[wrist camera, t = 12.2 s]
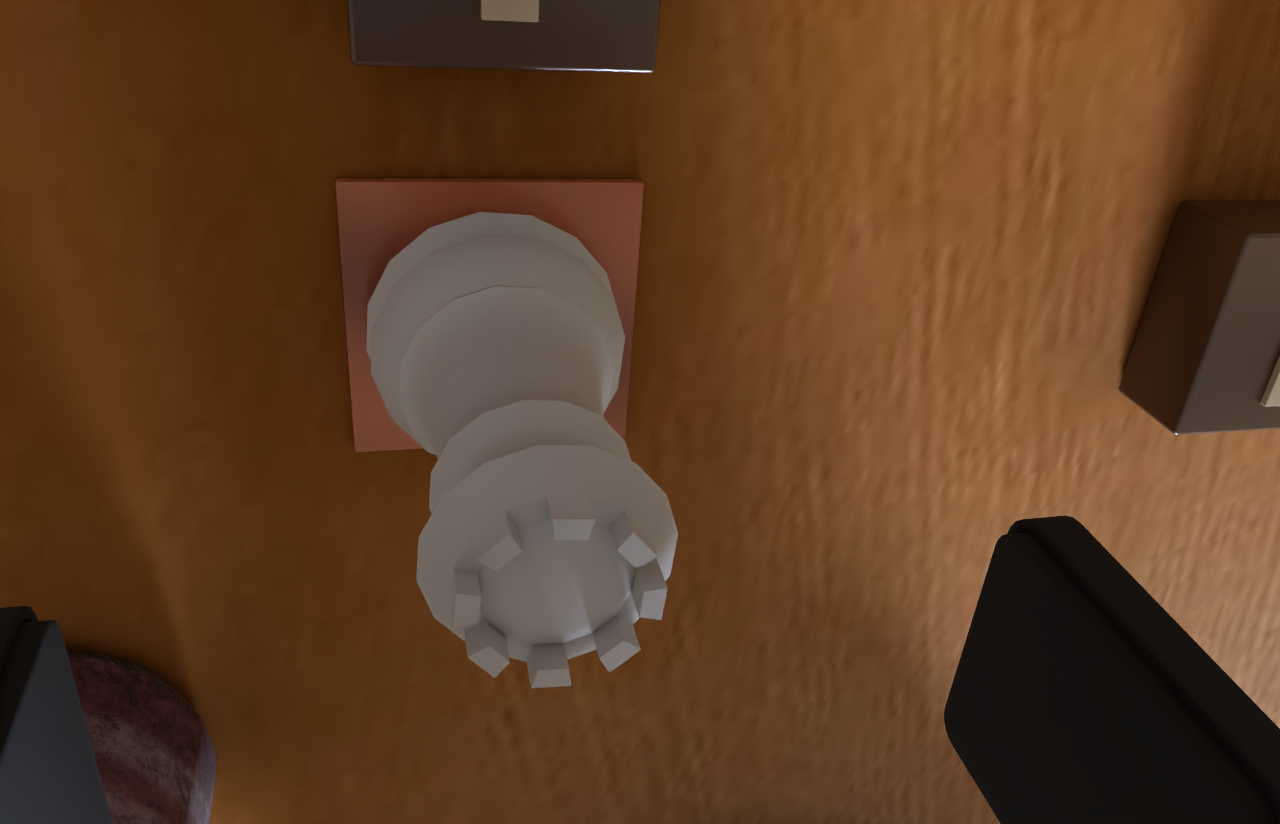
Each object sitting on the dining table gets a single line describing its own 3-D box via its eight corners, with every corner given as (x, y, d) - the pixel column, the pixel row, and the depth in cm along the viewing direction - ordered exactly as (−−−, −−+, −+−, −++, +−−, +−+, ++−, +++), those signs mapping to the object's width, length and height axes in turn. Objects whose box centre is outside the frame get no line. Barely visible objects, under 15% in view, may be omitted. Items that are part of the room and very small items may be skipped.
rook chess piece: (448, 466, 20) (489, 798, 13) (312, 280, 18) (279, 569, 11) (652, 357, 20) (797, 637, 13) (543, 154, 18) (653, 370, 11)
